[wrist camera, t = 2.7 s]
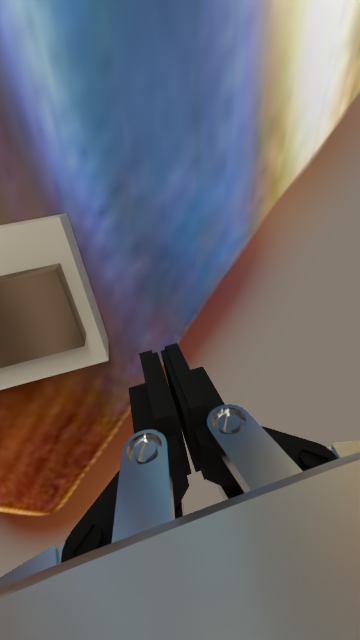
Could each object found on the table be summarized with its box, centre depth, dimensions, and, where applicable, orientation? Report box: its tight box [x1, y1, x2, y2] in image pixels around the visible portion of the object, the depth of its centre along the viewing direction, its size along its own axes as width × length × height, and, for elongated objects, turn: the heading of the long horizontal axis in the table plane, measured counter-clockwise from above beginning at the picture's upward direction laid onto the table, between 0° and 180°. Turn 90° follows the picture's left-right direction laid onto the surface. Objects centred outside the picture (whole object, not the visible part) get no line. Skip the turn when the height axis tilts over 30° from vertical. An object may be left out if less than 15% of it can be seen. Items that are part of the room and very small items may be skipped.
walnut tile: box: [0, 263, 86, 368], centre depth 20 cm, size 9×6×2 cm, turn 100°
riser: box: [0, 213, 109, 390], centre depth 22 cm, size 14×12×4 cm
